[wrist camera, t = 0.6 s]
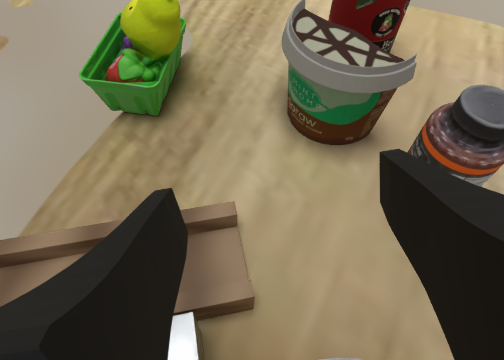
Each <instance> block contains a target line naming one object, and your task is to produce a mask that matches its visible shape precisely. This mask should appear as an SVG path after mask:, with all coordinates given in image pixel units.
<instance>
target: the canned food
mask: <svg viewBox="0 0 504 360" xmlns="http://www.w3.org/2000/svg"><path fill="white" fill-rule="evenodd" d="M409 2H410V0H333V1H332V6H331V10H330V15H329V20H328V21H329V22H332V23H335V24H338V25H341V26H344V27H347V28H350V29H352V30H355V31H356V32H358V33H359V34H361V35H362V36H364V37H365V38H367V39H368V40H369V41H371V42H372V43H374V44H375V45H376V46H378V47H379V48H381V49H383V50H385V51H387V52H388V53H389V52H390V50H391V47H392V45H393V42H394V40H395V37H396V35H397V32H398V30H399V27H400V25H401V22H402V20H403V17H404V15H405V12H406V10H407V7H408V5H409Z"/></svg>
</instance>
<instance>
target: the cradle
mask: <svg viewBox="0 0 504 360" xmlns="http://www.w3.org/2000/svg"><path fill="white" fill-rule="evenodd" d="M180 212H181V214H182V217H183V220H184V222H185V225H186V228H187V230H188V244H187V255H186V261H185V266H184V270H183V275H182V279H181V283H180V288H179V292H178V296H177V301H176V305H175V309H174V314H173V316H176V315H180V314H185V313H190V312H193V313H194V316H195V318H196V320H201V319H206V318H211V317H216V316H221V315H225V314H230V313H235V312H240V311H245V310H250V309H253V306H254V293H253V288H252V283H251V280H248V275H247V270H246V266H245V261H244V256H243V251H242V246H241V241H240V236H239V232H238V227H237V211H236V207H235V202H234V201H233V202H227V203H221V204H215V205H209V206H203V207H197V208H191V209H185V210H180ZM123 221H124V220H119V221H113V222H107V223H101V224H95V225H89V226H83V227H77V228H71V229H65V230H59V231H53V232H47V233H41V234H35V235H29V236H23V237H17V238H11V239H5V240H0V307H1V306H3V305H5V304H7V303H9V302H10V301H12V300H14V299H16V298H18V297H20V296H21V295H23V294H25V293H27V292H29V291H30V290H32V289H34V288H36V287H37V286H39V285H41V284H42V283H44V282H45V281H47V280H49V279H50V278H52V277H53V276H55V275H56V274H58V273H59V272H61V271H62V270H64V269H65V268H67V267H68V266H70V265H71V264H73V263H74V262H75V261H77V260H78V259H79V258H81V257H82V256H83V255H85V254H86V253H87V252H89V251H90V250H91V249H92V248H94V247H95V246H96V245H97V244H98V243H100V242H101V241H102V240H103V239H104V238H105V237H106V236H107V235H109V234H110V233H111V232H112V231H113V230H114V229H115V228H116V227H117V226H119V225H120V224H121V223H122V222H123Z"/></svg>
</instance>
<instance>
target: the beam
mask: <svg viewBox="0 0 504 360" xmlns="http://www.w3.org/2000/svg"><path fill="white" fill-rule="evenodd" d="M168 360H204V354H203V346H202V337H201V330H200V327H199V325H198V323H197V320H196V318H195V316H194V313H193V312H190V313H185V314H180V315H176V316H173V320H172V326H171V334H170V343H169V352H168Z"/></svg>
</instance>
